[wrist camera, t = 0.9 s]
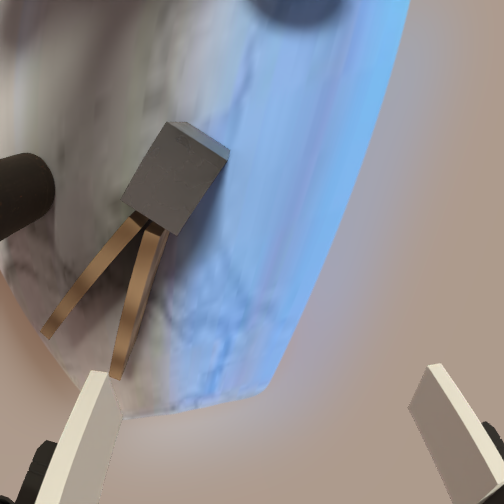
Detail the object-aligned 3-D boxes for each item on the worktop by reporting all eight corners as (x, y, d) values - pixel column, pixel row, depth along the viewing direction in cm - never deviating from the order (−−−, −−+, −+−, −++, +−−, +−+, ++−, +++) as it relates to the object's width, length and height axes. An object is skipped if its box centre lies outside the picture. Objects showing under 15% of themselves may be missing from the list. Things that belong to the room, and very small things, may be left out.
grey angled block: (186, 122, 29) (166, 121, 21) (230, 150, 31) (227, 160, 22) (150, 178, 31) (120, 200, 23) (192, 205, 33) (176, 236, 24)
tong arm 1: (152, 194, 32) (128, 216, 25) (162, 204, 32) (141, 228, 25) (67, 295, 36) (39, 331, 29) (75, 303, 37) (49, 339, 29)
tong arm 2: (164, 205, 32) (144, 230, 25) (177, 210, 33) (160, 236, 25) (126, 334, 38) (108, 376, 31) (136, 338, 39) (120, 380, 31)
